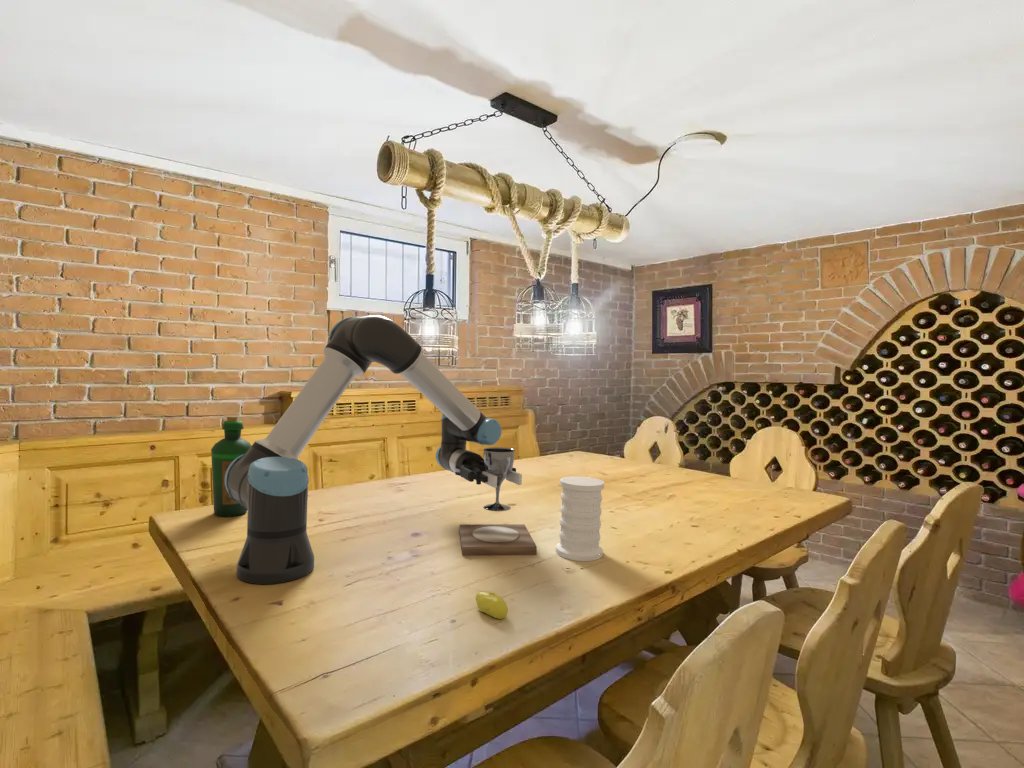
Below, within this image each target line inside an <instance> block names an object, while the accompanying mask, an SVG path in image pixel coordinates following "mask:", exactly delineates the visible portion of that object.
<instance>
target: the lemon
mask: <svg viewBox="0 0 1024 768" xmlns="http://www.w3.org/2000/svg"><path fill="white" fill-rule="evenodd" d="M475 602H476V606H477V608H478V610H479V611H480V612H483V613H485V614H487V615H488V616H490V617H493V618H495V619H497V620H502V619H505V617H506V616H507V614H508V611H509V610H508V609H509V608H508V605H507V602H506V601H505V599H504V598H503V597H502V596H501V595H499V594H497V593H495V592H492V591H491V592H490V591H479V592H478V593H476V596H475Z"/></svg>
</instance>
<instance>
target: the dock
mask: <svg viewBox="0 0 1024 768" xmlns="http://www.w3.org/2000/svg"><path fill="white" fill-rule="evenodd" d="M458 529H459V530H458V533H459V534H458V535H459V540H460V541H459V543H460V549H461V550H460V551H461V556H508V555H509V556H512V555H513V556H518V555H521V556H523V555H529V556H530V555H536V556H537V545H536V543H535V541H534V539H533V537H532V535H531V534H530V532H529V529H528V528H527V526H526V525H525V523H522V524H520V523H519V524H517V523H516V524H515V523H514V524H511V523H510V524H506V523H505V524H498V523H497V524H487V523H486V524H485V523H484V524H475V523H473V524H471V523H470V524H469V523H468V524H462V523H461V524H459V527H458Z"/></svg>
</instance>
